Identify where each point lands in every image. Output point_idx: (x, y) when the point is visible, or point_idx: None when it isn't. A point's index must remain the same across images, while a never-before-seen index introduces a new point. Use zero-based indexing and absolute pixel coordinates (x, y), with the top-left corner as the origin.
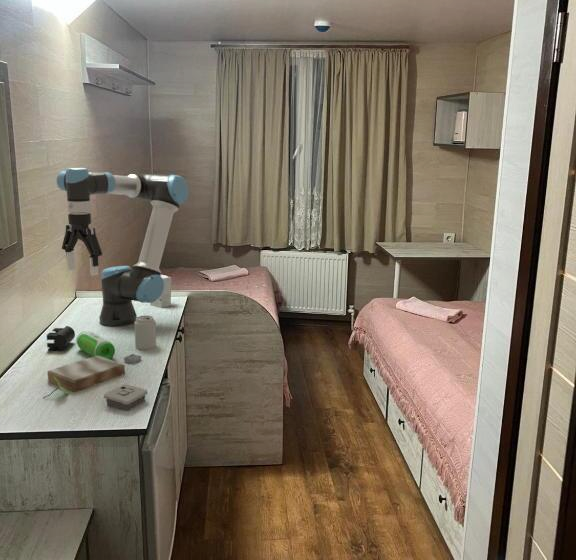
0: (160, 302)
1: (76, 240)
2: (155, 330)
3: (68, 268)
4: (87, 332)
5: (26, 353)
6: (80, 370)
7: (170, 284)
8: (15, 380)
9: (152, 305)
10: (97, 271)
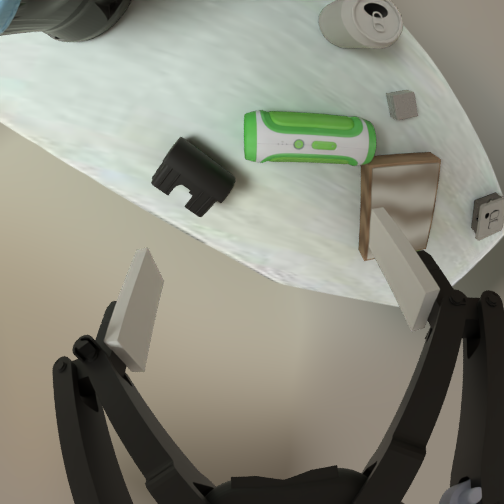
0: None
1: (170, 450)
2: (378, 5)
3: (159, 288)
4: (275, 146)
5: (196, 233)
6: (406, 226)
7: None
8: (315, 279)
9: None
10: (392, 223)
